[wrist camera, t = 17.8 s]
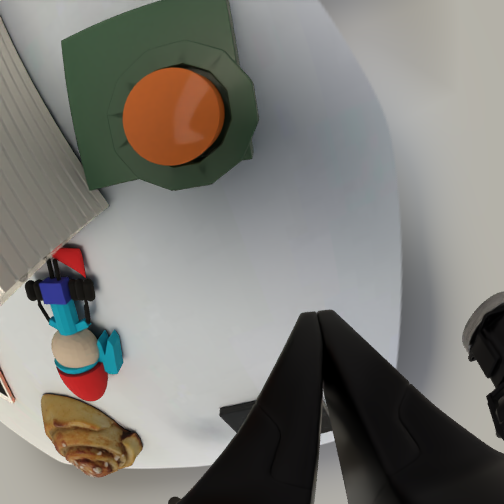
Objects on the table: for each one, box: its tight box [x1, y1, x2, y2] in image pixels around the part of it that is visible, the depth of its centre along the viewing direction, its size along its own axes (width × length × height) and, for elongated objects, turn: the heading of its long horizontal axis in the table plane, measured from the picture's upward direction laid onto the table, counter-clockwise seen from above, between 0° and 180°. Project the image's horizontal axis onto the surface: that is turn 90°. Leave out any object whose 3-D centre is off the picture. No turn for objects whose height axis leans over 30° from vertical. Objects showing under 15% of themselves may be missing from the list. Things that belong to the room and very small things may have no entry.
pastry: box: [41, 394, 143, 478], centre depth 30 cm, size 13×15×8 cm
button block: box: [61, 0, 259, 191], centre depth 14 cm, size 11×11×4 cm
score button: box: [123, 67, 225, 166], centre depth 13 cm, size 4×4×2 cm
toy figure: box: [25, 248, 123, 401], centre depth 23 cm, size 8×5×15 cm
